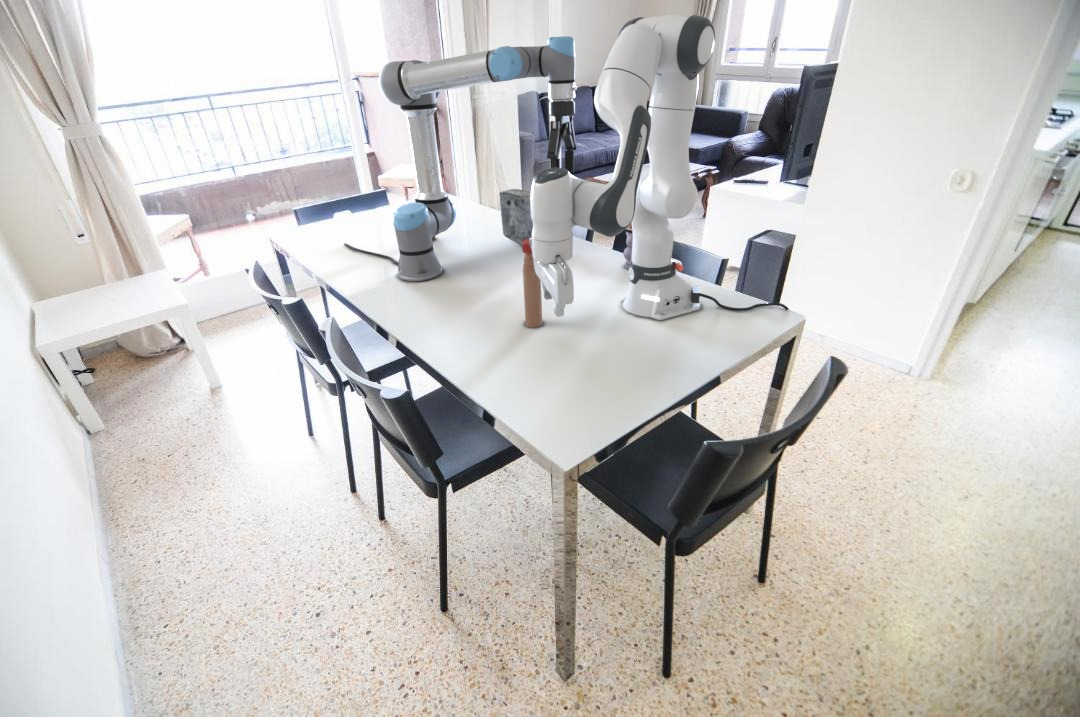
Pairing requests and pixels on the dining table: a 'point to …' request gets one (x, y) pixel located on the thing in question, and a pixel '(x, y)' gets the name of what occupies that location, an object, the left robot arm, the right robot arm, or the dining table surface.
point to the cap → (526, 246)
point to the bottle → (532, 293)
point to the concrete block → (516, 214)
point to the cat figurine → (628, 249)
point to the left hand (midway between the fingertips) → (562, 177)
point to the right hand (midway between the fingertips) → (553, 306)
